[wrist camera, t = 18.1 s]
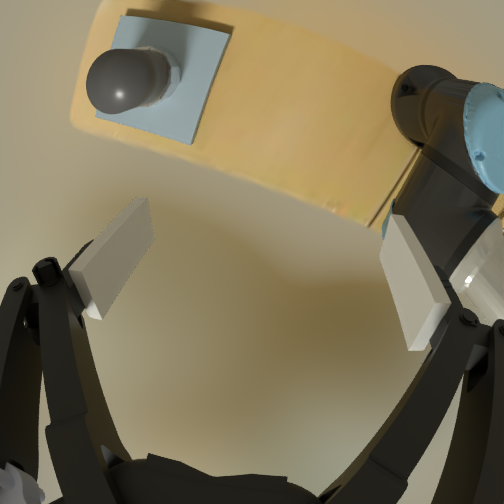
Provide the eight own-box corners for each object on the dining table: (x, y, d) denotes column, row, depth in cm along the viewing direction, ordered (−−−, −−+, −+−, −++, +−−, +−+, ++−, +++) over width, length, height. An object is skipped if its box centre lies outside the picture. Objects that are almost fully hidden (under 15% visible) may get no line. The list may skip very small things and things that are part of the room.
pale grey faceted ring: (191, 85, 40) (182, 87, 37) (142, 113, 44) (130, 118, 40) (165, 37, 36) (154, 35, 32) (118, 68, 39) (105, 70, 35)
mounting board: (231, 35, 36) (229, 34, 35) (193, 143, 48) (190, 145, 46) (125, 16, 34) (121, 15, 33) (99, 115, 45) (95, 117, 44)
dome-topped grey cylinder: (187, 85, 40) (155, 91, 30) (142, 111, 43) (103, 126, 33) (163, 40, 36) (125, 35, 26) (120, 69, 39) (77, 75, 29)
